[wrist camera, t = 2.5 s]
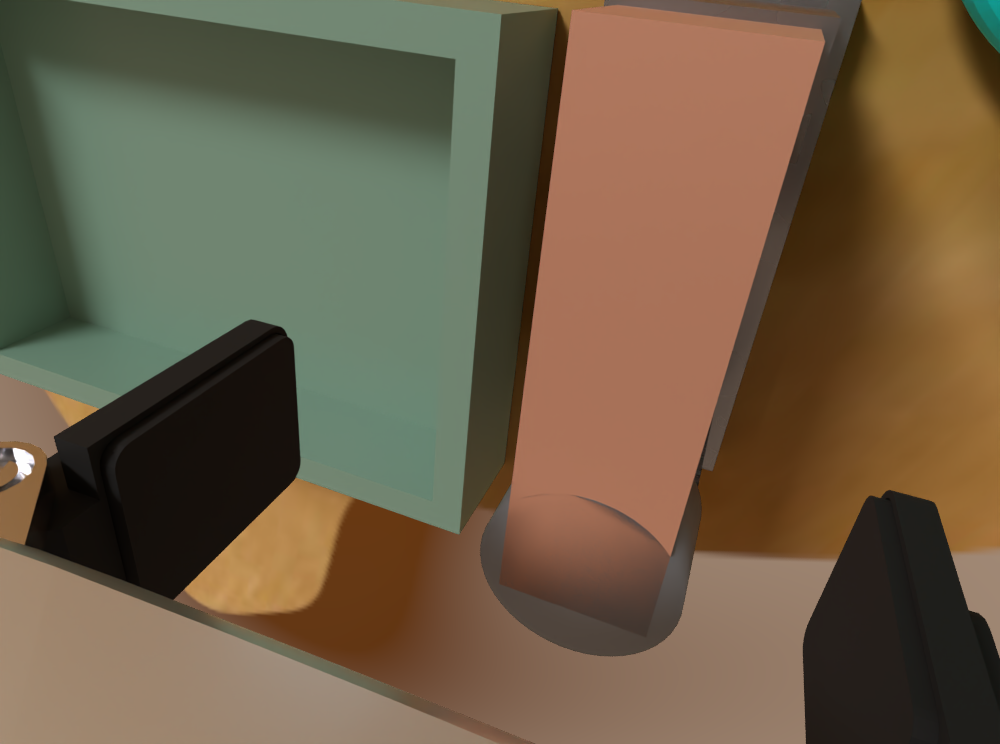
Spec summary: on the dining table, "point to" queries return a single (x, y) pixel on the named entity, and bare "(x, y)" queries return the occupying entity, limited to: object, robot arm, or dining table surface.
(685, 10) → the bracket
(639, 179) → the strut
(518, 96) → the tray
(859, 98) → the dining table surface
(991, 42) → the donuts
